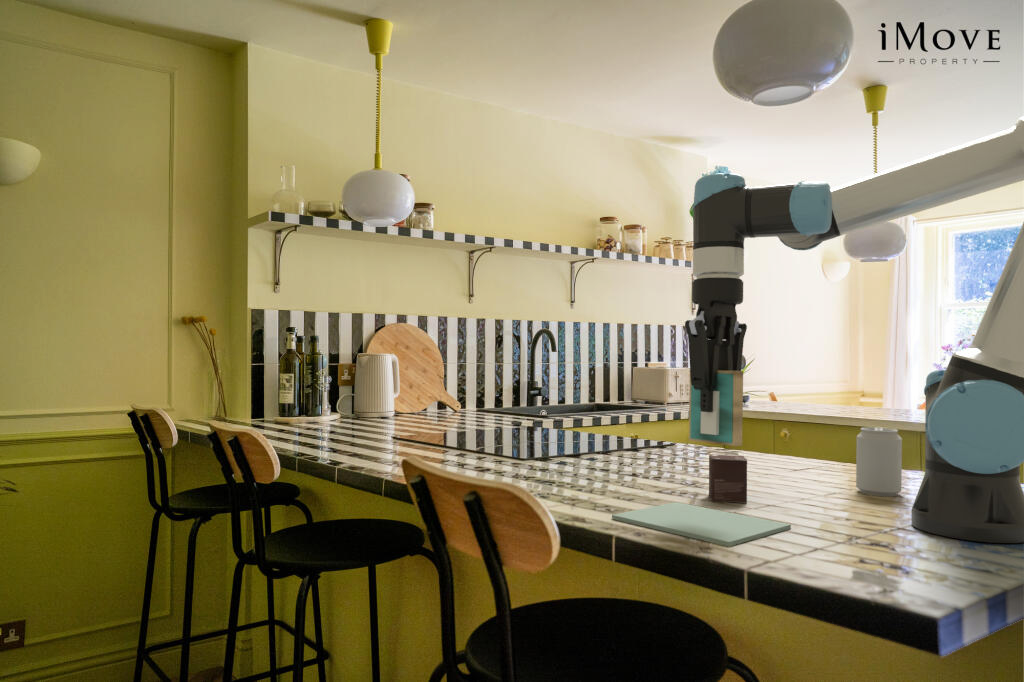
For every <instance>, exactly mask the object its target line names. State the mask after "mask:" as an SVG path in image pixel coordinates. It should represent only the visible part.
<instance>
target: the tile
mask: <svg viewBox="0 0 1024 682" xmlns="http://www.w3.org/2000/svg"><path fill="white" fill-rule="evenodd" d="M715 391H720V394H719V435H711V434H703V433H701V409H700V405H701V404H700V402H701V401H700V396H701V392H700V390H695V389H694V386H692V384H691V376H690V375H689V398H688V399H689V404H688V405H689V406H688V407H689V408H688V410H689V411H688V442H689V441H691V442H696V443H697V442H698V443H705V444H714V445H720V446H728V447H739V446H743V415H744V414H743V413H744V412H743V410H744V409H743V407H744V405H743V404H744V400H743V399H744V397H743V396H744V371H742V370H741V371H724V370H717V383H716V389H715Z"/></svg>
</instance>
